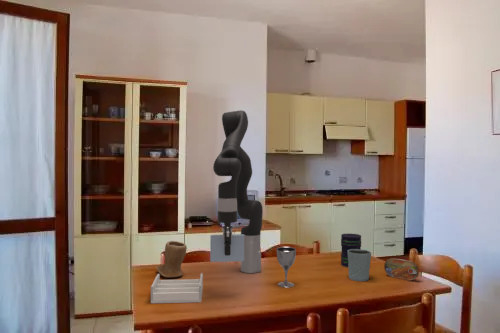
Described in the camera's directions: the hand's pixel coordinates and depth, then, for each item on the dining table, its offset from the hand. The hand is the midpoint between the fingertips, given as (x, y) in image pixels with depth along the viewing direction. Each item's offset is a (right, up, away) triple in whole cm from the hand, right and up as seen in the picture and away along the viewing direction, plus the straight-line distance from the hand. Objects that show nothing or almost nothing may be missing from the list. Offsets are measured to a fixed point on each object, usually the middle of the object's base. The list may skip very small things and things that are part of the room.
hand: (227, 254), depth 151 cm
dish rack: (-19, -15, -1) cm, 24 cm away
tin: (+76, -16, +23) cm, 81 cm away
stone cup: (-27, -15, +26) cm, 40 cm away
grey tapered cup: (+57, -16, +22) cm, 63 cm away
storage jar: (+59, -16, +44) cm, 76 cm away
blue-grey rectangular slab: (0, -3, 0) cm, 3 cm away
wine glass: (+24, -16, +12) cm, 31 cm away
